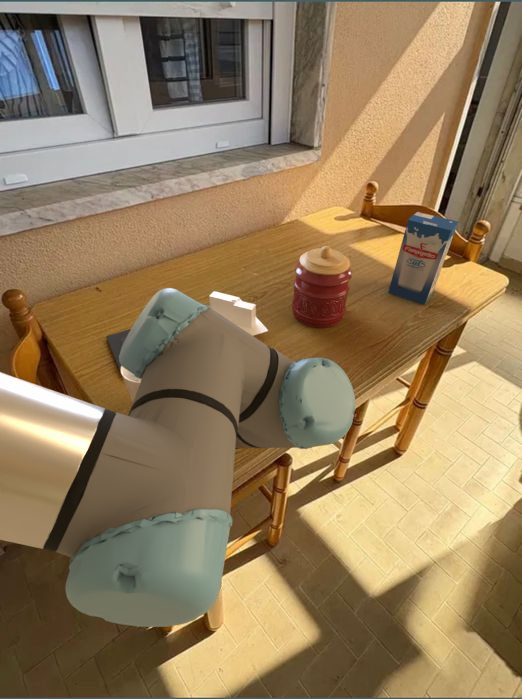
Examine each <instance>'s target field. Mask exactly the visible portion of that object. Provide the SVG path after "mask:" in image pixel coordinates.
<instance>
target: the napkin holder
mask: <svg viewBox="0 0 522 699" xmlns="http://www.w3.org/2000/svg"><path fill="white" fill-rule="evenodd" d="M208 298H209V306H210V308H211V309H212V310H214V311H216V312H217V313H219V314H220V315H222V316H223V317H225V318H226V319H228V320H229V321H231V322H232V323H234V324H235V325H237V326H238V327H240V328H241V329H243V330H244V331H246V332H247V333H249V334H250V335H252V336H254V337H255V336H257V335H260V334H264V333H266V332H269V329H268V328H267V327H266V326H265V325H264V324H263V323H262V322H261V320H260V319H259V318H258V316H257V304H255V303H252V302H247V301H243V300H242V299H241V298H240V296H235V295H231V294H227V293H223V292H219V291H215V290H213V291H212V292H211V294H209V295H208Z"/></svg>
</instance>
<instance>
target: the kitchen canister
mask: <svg viewBox="0 0 522 699" xmlns="http://www.w3.org/2000/svg"><path fill="white" fill-rule="evenodd" d="M298 260H299V261H298V263H297V264H296V265H295V267H294V272H295V275H296V276H295V277H294V280H293V286H294V287H293V299H292V303H291V309H292V315H293V316H294V318H295V319H296V320H297V321H298V322H300V323H301V324H304V325H306V326H309V327H313V328H330V327H333V326H335V325H337V324H339V323H340V322H341V321H342V320H343V319H344V318H343V317H344V315H345V314H346V308H347V307H346V305H347V300H348V293H349V291H350V287H351V285H350V282H349V281H350V280H351V279H352V276H353V270H352V269H351V261H350V259H349V257H347V256H346V255H344V254H343V253H342V252H341V251H339V250H336V249H333V248H331V247H330V245H323V246H322V247H316V248H312V249H310V250H308V251H306V252H304V253H303V254H301V255H300V257H299V259H298Z"/></svg>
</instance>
